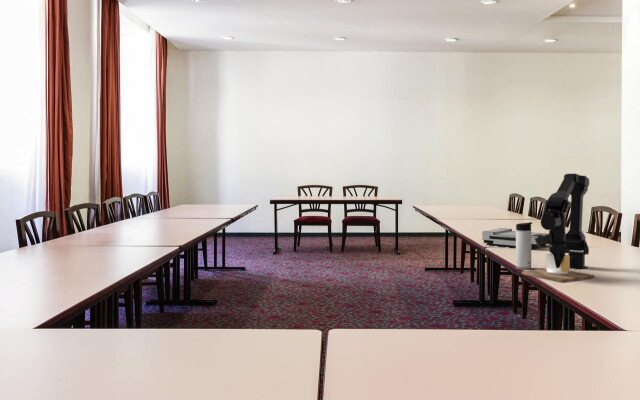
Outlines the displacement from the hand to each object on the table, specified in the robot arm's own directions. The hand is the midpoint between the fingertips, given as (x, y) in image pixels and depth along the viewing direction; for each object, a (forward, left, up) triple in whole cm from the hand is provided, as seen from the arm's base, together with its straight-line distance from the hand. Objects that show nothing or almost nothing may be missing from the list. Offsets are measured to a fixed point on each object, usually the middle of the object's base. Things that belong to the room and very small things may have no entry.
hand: (557, 266), depth 226 cm
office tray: (-48, -71, -4) cm, 86 cm away
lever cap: (0, 0, -3) cm, 3 cm away
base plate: (0, 0, -4) cm, 4 cm away
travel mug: (-1, -19, -4) cm, 20 cm away
